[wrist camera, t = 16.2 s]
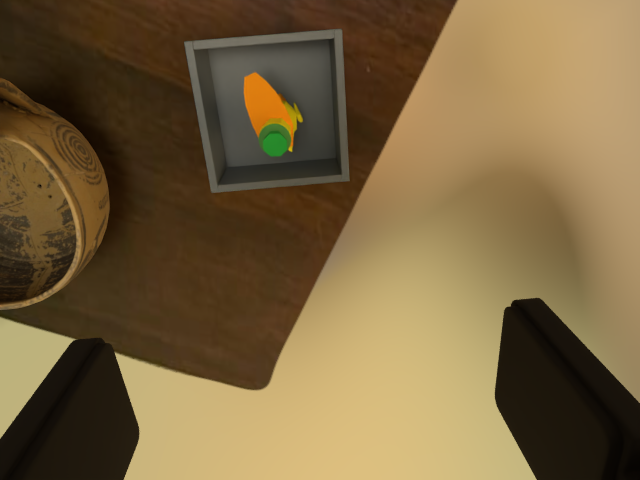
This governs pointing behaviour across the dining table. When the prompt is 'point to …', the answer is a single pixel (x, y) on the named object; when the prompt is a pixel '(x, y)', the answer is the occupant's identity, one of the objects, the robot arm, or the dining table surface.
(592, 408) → the robot arm
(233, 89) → the grey bin
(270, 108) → the toy figure
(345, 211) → the dining table surface
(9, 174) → the ceramic bowl
